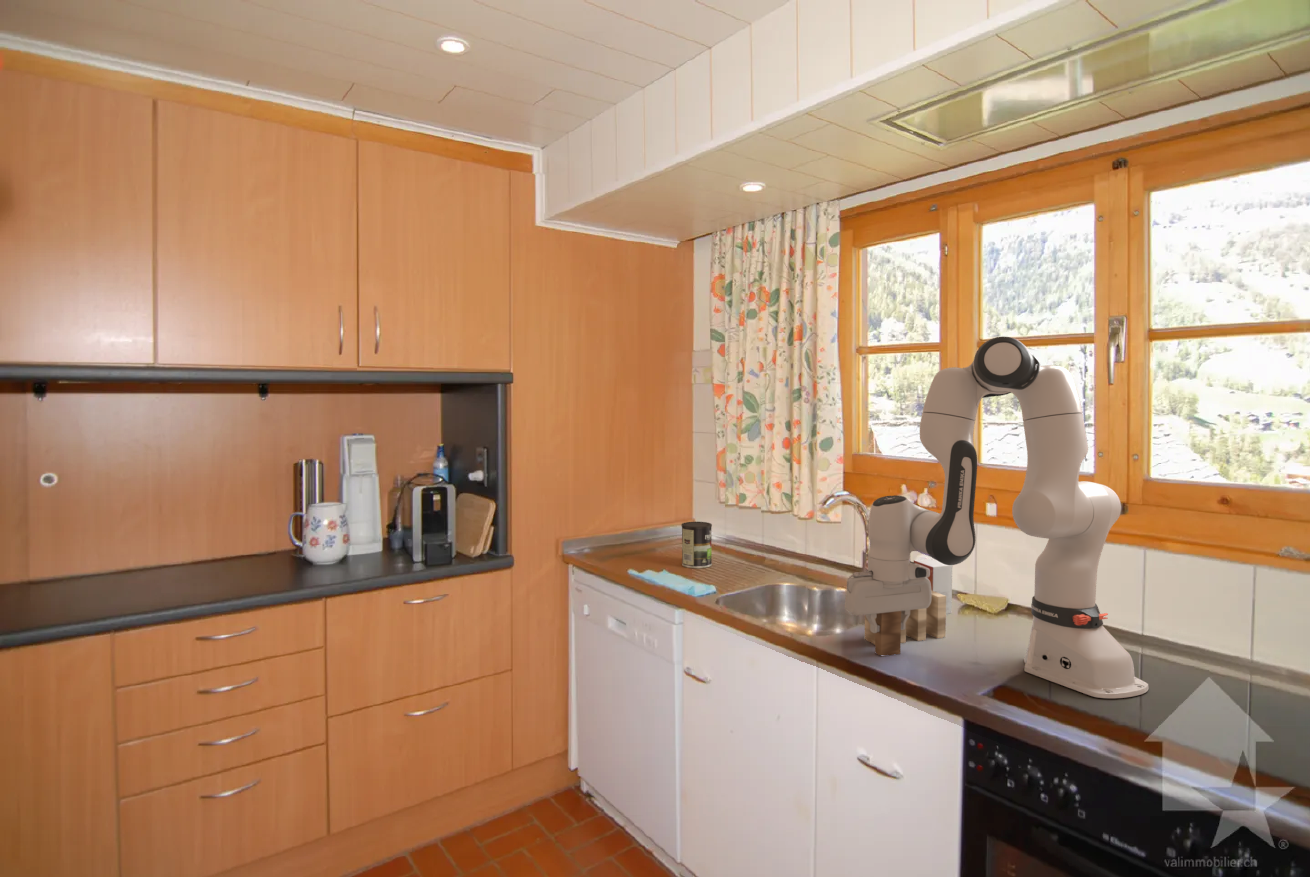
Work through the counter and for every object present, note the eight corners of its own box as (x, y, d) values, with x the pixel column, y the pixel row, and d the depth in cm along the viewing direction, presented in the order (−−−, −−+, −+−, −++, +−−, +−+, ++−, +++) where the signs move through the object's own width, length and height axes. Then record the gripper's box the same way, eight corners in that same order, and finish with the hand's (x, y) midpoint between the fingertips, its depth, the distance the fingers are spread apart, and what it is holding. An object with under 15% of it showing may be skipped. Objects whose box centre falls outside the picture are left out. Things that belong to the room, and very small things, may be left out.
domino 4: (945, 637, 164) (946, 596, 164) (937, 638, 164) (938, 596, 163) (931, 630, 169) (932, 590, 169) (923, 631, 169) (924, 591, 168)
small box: (911, 607, 188) (912, 559, 187) (931, 604, 190) (932, 557, 189) (932, 616, 180) (933, 566, 180) (952, 613, 182) (953, 564, 181)
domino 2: (894, 650, 156) (894, 606, 156) (900, 653, 154) (901, 609, 154) (875, 652, 155) (875, 609, 154) (880, 656, 153) (881, 611, 152)
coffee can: (715, 562, 240) (715, 522, 239) (707, 569, 230) (707, 527, 229) (686, 560, 243) (686, 520, 242) (677, 567, 233) (677, 525, 233)
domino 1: (885, 645, 160) (886, 602, 159) (877, 646, 159) (877, 603, 158) (872, 638, 164) (873, 596, 164) (864, 639, 164) (865, 597, 163)
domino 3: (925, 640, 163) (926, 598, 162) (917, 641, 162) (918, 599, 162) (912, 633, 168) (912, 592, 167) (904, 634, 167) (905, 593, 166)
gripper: (855, 576, 147) (854, 640, 148) (936, 569, 153) (935, 630, 154) (839, 569, 154) (838, 630, 154) (918, 562, 159) (916, 621, 160)
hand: (887, 630), depth 154 cm, fingers closed on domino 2, 5 cm apart
